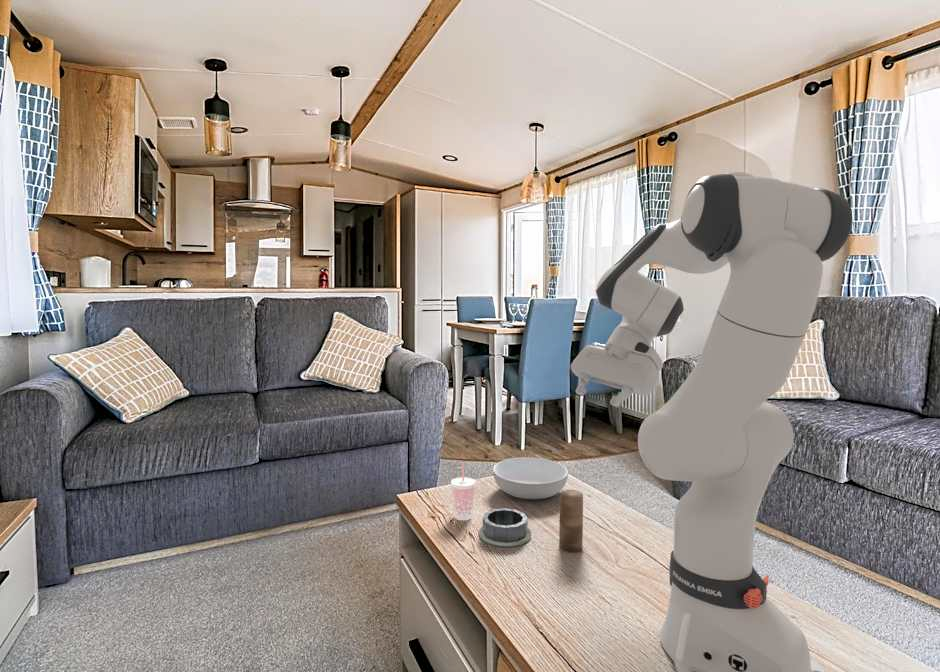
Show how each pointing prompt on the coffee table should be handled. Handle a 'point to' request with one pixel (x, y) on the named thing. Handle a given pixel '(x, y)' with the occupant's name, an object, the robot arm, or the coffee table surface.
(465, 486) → the beverage cup
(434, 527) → the coffee table surface
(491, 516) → the cup holder
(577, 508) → the brown rounded cylinder
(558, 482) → the serving bowl
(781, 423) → the robot arm
